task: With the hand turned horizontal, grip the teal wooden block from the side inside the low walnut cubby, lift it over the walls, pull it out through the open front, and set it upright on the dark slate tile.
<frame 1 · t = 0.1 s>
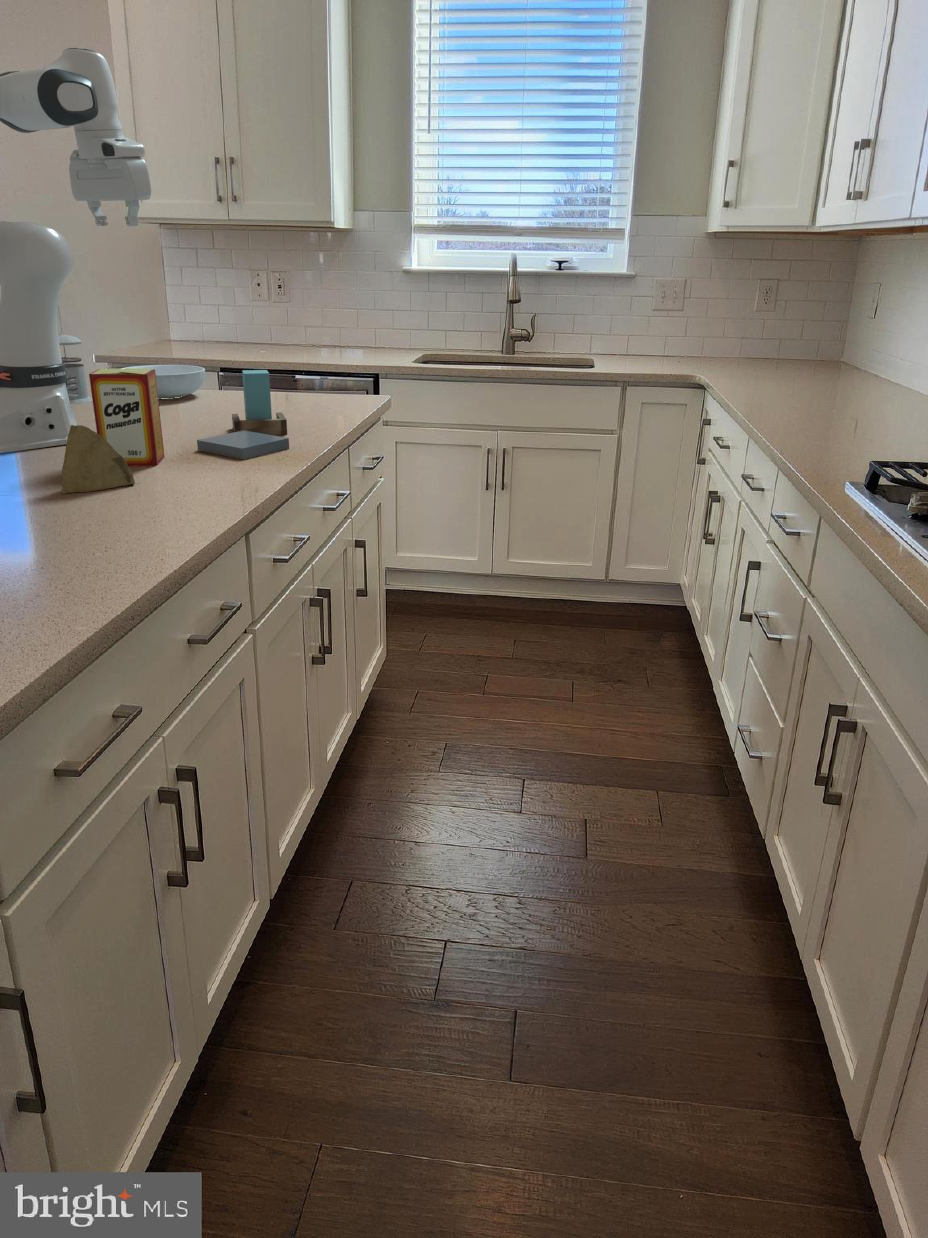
hand: (117, 225, 181), 39 cm above the table, tool pointing down, fingers open, 8 cm apart
french press: (68, 400, 219), on the table
baking soda box: (133, 462, 162), on the table
rock: (100, 489, 145), on the table
walnut cubby: (259, 430, 190), on the table
slate tile: (244, 449, 173), on the table
teal block: (257, 401, 187), in the walnut cubby
serving bowl: (164, 397, 227), on the table
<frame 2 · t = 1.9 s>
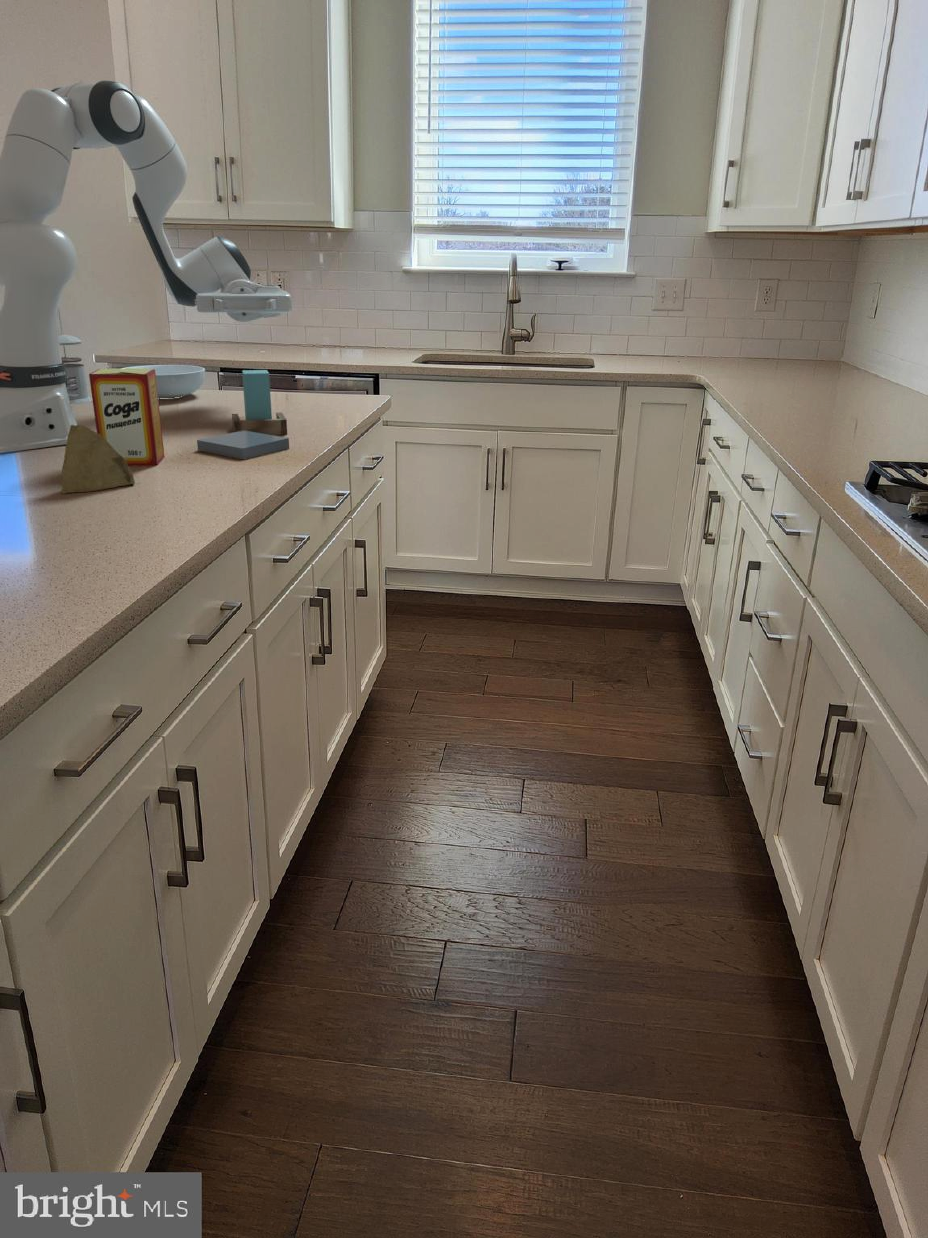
hand: (246, 305, 191), 24 cm above the table, tool horizontal, fingers open, 8 cm apart
nothing on the table moved.
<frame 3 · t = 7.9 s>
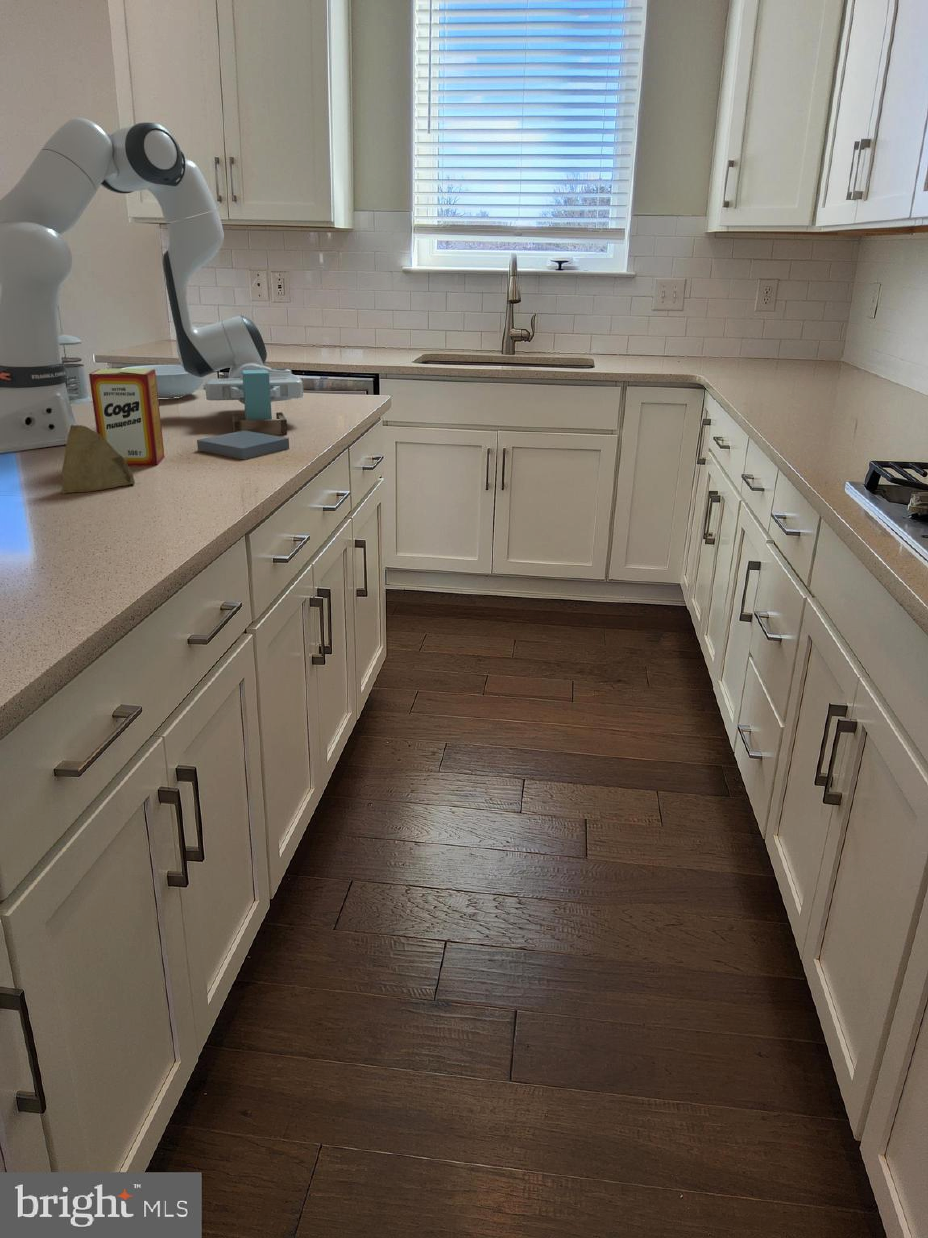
hand: (257, 394, 186), 8 cm above the table, tool horizontal, fingers closed on teal block, 5 cm apart
teal block: (257, 401, 187), in the walnut cubby, touching gripper
everything else where it was.
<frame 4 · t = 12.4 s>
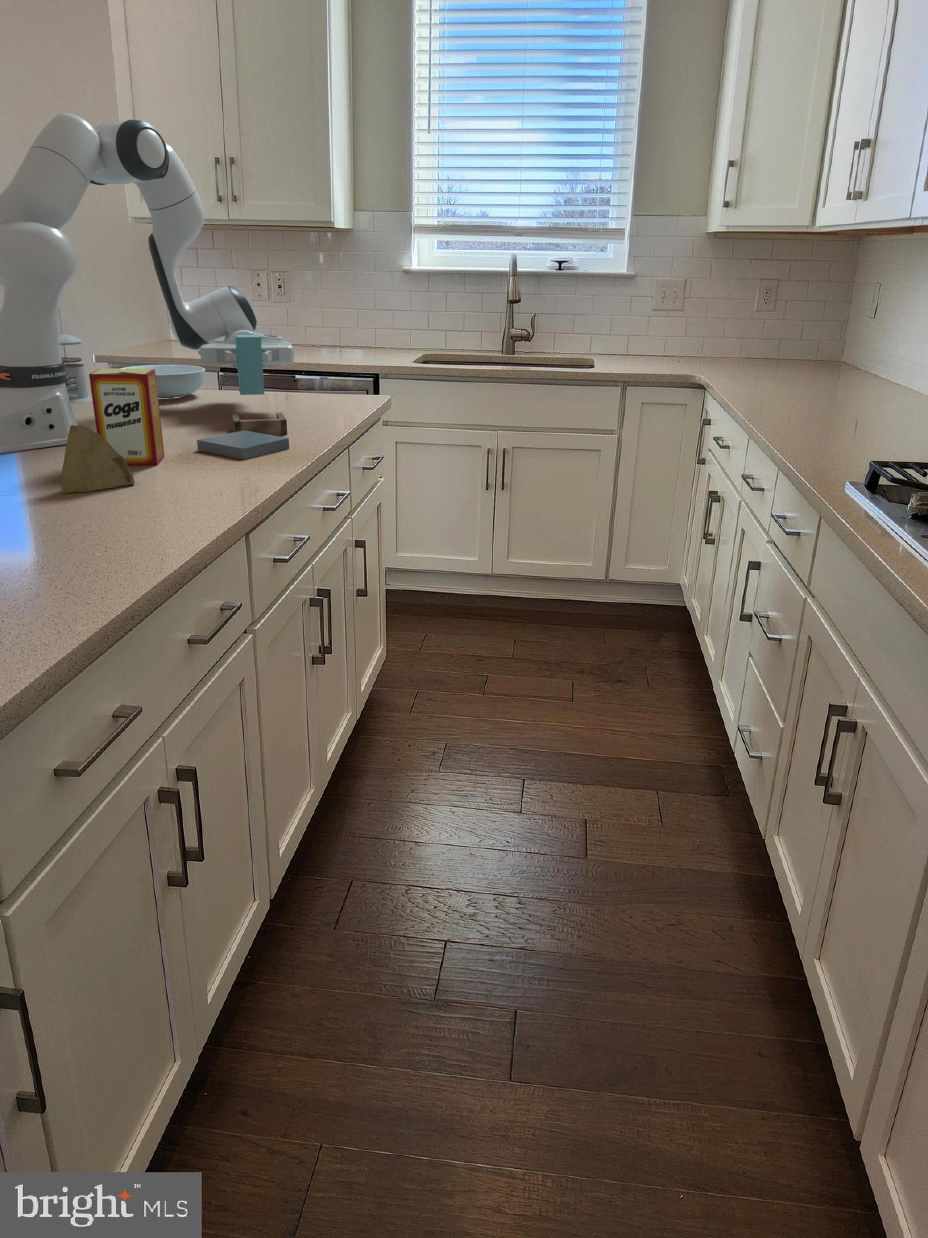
hand: (249, 357, 195), 13 cm above the table, tool horizontal, fingers closed on teal block, 5 cm apart
teal block: (249, 364, 197), point 12 cm above the table, touching gripper
everything else where it was.
when the fingers open (11 cm above the table, at t = 17.2 s): teal block drops 2 cm, resting on slate tile.
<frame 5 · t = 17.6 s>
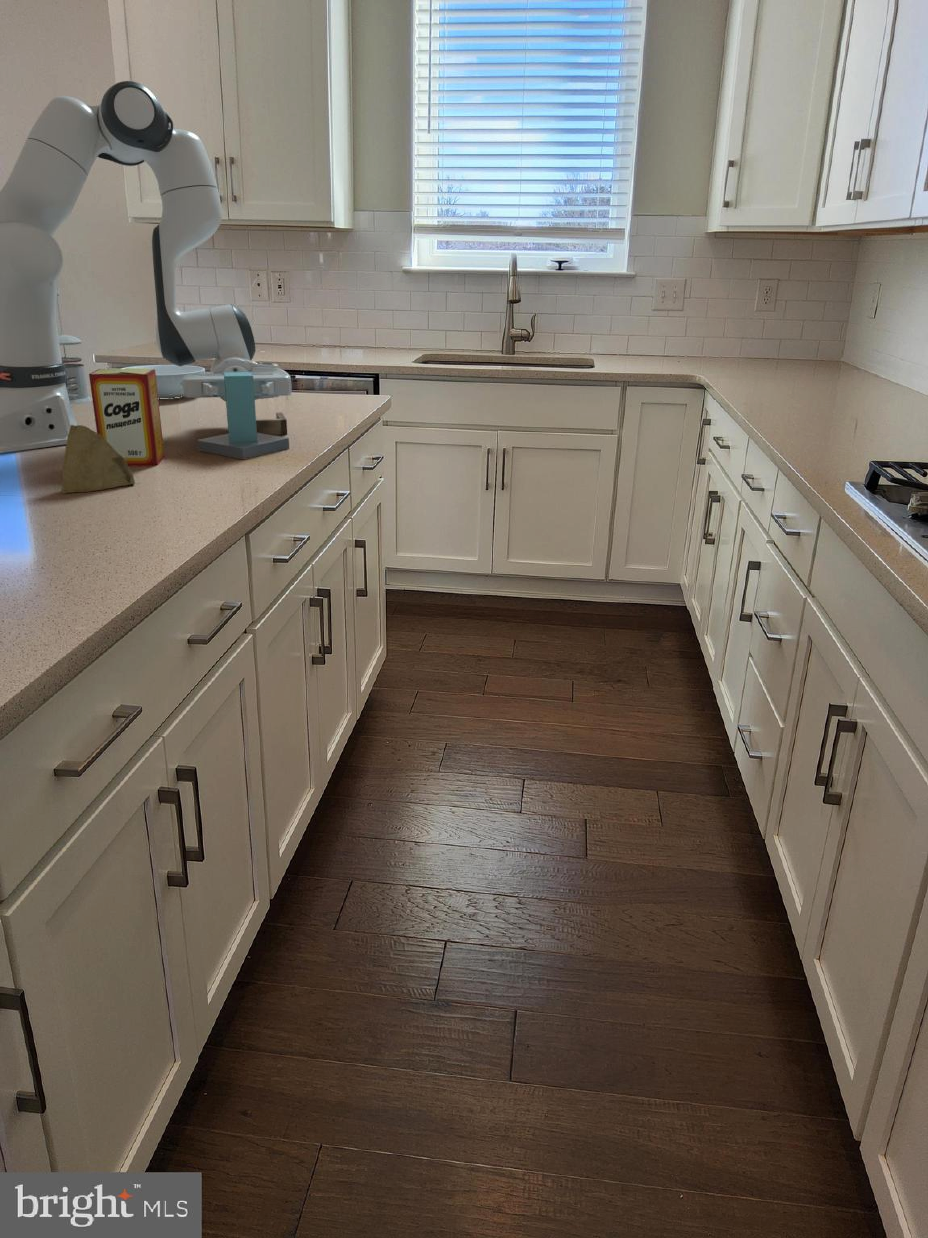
hand: (240, 391, 168), 11 cm above the table, tool horizontal, fingers open, 8 cm apart
teal block: (240, 406, 169), on the slate tile, point 8 cm above the table
everything else where it was.
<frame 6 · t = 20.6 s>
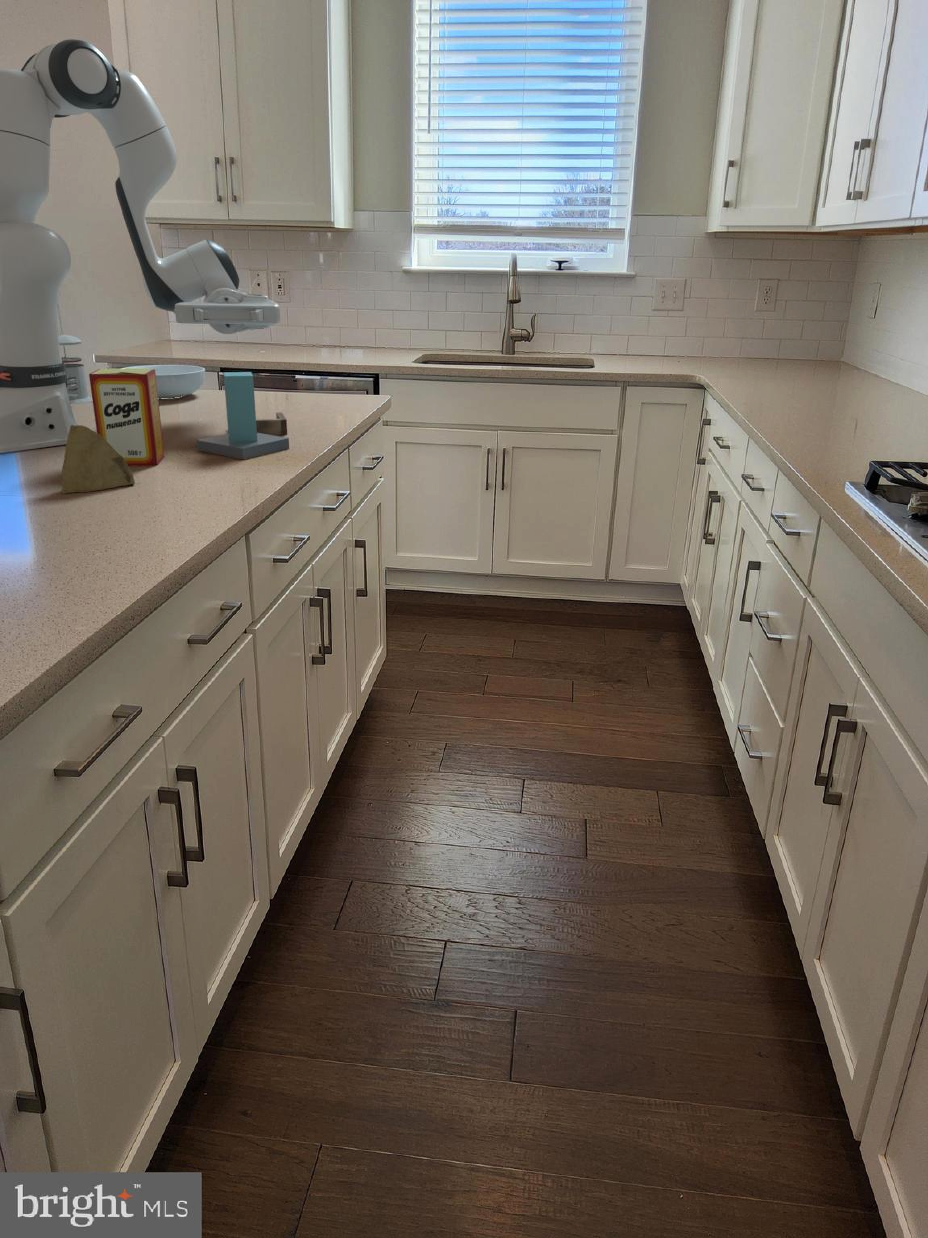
hand: (230, 315, 174), 23 cm above the table, tool horizontal, fingers open, 8 cm apart
nothing on the table moved.
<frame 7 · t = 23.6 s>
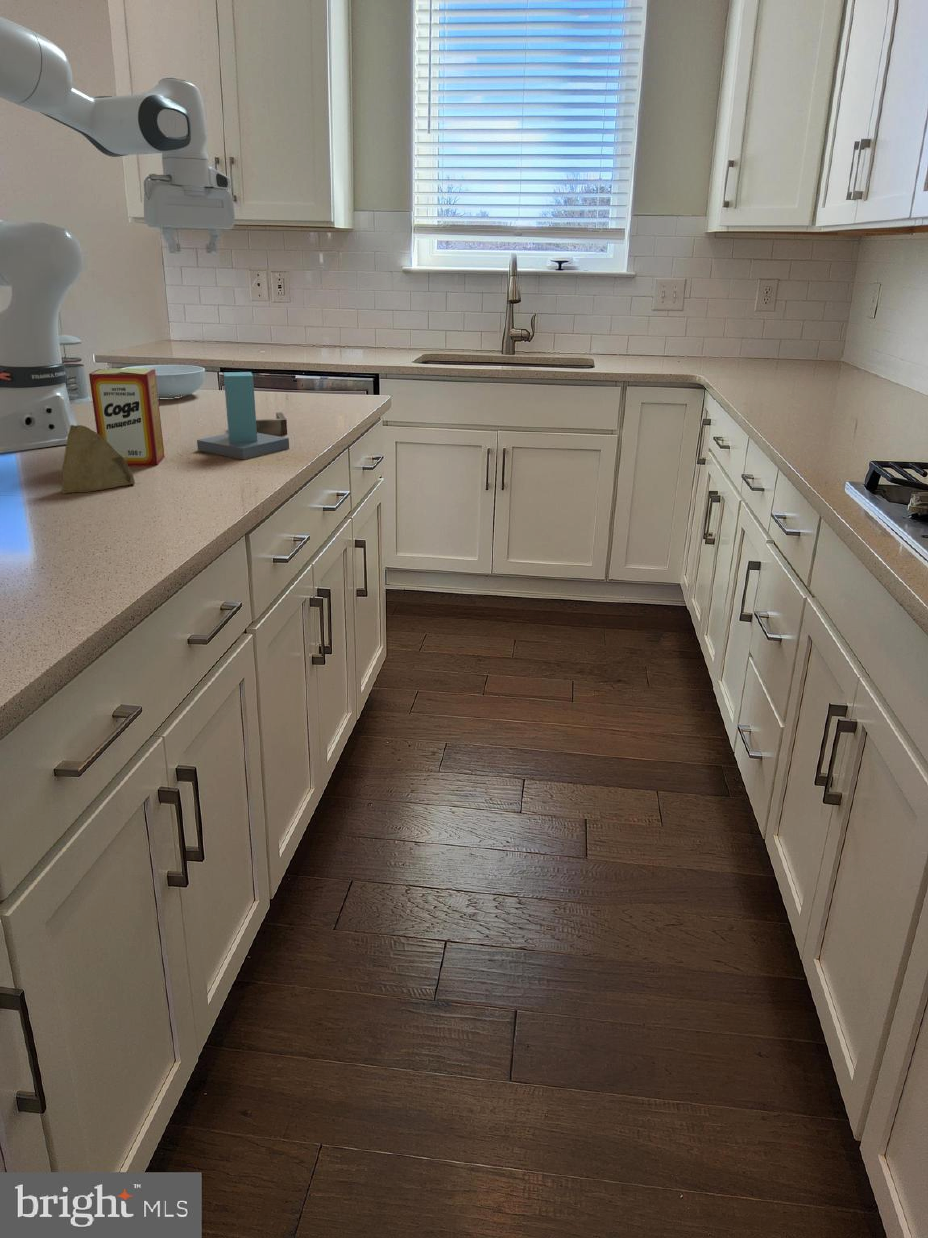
hand: (193, 253, 181), 34 cm above the table, tool pointing down, fingers open, 8 cm apart
nothing on the table moved.
at the end: teal block inside the target area on the slate tile (0.1 cm from its centre), point 8.0 cm above the slate tile's base; teal block tilted 0°; the gripper is holding nothing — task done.
